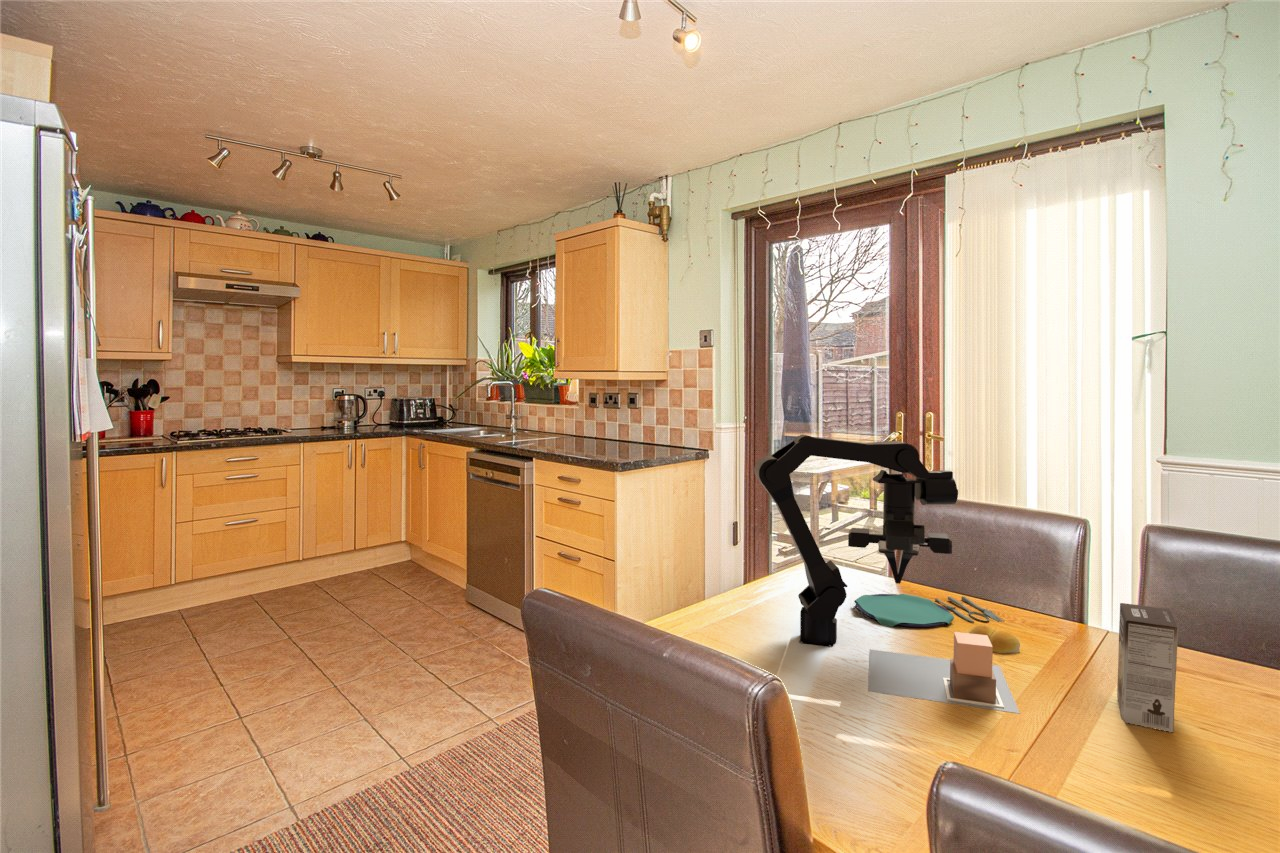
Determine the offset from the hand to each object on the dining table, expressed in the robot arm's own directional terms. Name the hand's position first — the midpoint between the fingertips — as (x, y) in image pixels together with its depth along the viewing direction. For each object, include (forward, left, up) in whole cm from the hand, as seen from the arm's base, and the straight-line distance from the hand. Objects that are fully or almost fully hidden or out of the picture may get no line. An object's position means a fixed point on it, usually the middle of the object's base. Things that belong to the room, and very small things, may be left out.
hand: (897, 583), depth 127 cm
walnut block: (+11, -20, -11) cm, 25 cm away
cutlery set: (+6, +19, -13) cm, 24 cm away
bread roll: (+17, +4, -12) cm, 22 cm away
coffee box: (+35, -18, -12) cm, 41 cm away
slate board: (+6, -16, -12) cm, 21 cm away
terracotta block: (+11, -20, -7) cm, 24 cm away
